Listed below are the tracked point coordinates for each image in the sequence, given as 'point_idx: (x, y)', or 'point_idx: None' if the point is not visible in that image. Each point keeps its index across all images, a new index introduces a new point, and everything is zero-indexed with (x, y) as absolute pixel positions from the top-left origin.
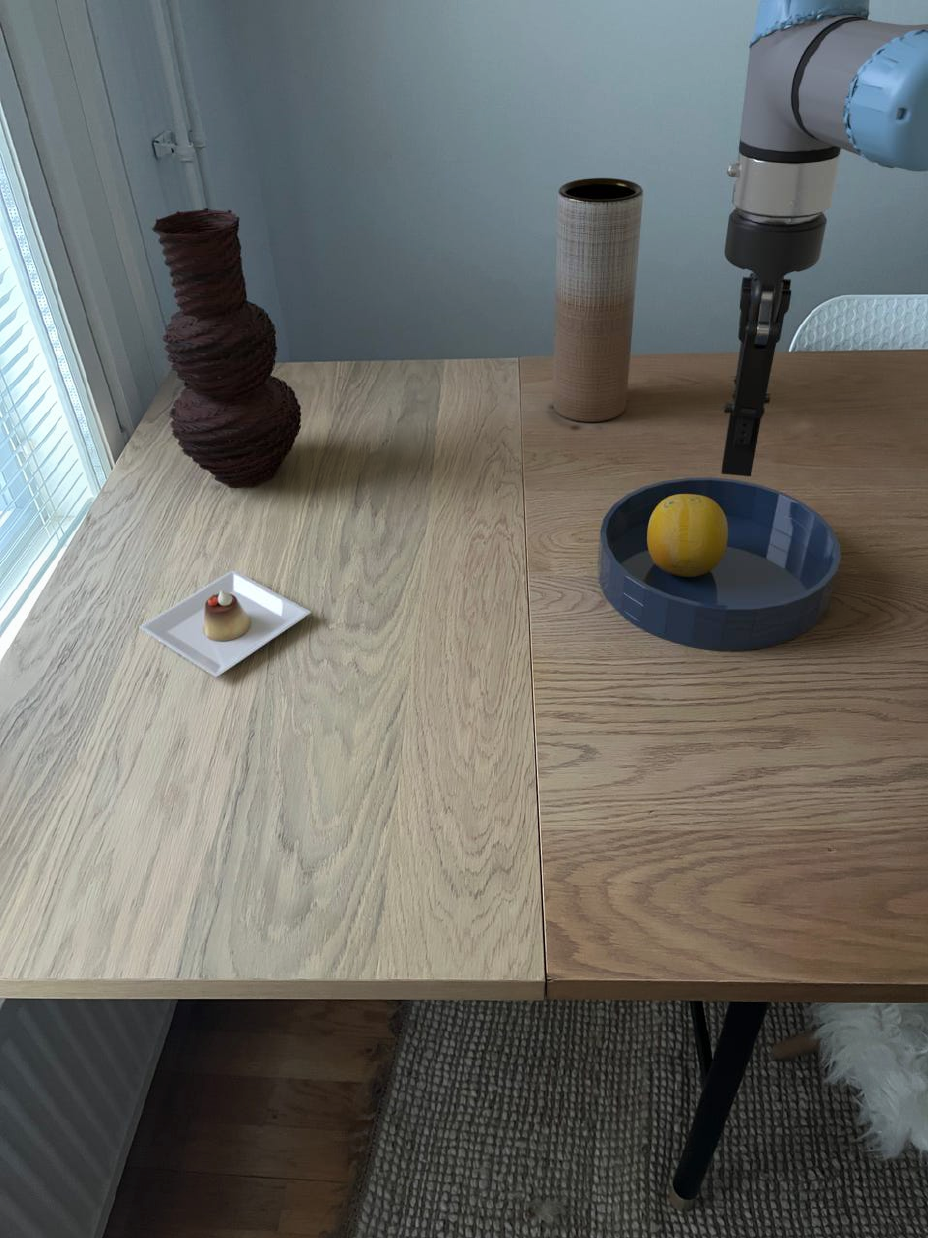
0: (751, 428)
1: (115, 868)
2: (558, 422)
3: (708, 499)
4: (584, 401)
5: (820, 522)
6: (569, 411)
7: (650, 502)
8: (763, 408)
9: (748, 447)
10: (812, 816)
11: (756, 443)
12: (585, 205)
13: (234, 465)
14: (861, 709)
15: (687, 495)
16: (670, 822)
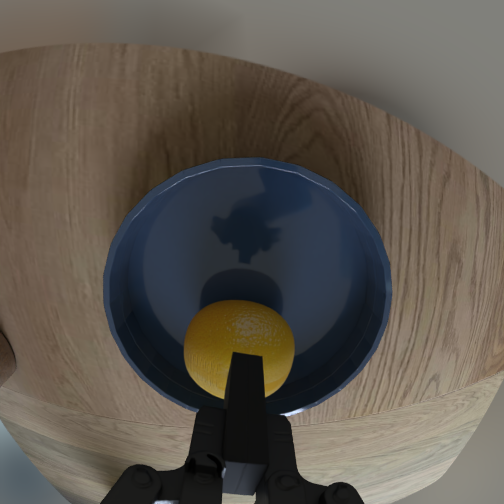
0: (294, 454)
1: (417, 482)
2: (22, 374)
3: (225, 359)
4: (4, 368)
5: (203, 172)
6: (12, 370)
7: (146, 359)
8: (348, 501)
9: (284, 417)
10: (499, 254)
11: (265, 404)
12: None
13: None
14: (440, 190)
15: (220, 383)
16: (483, 332)
